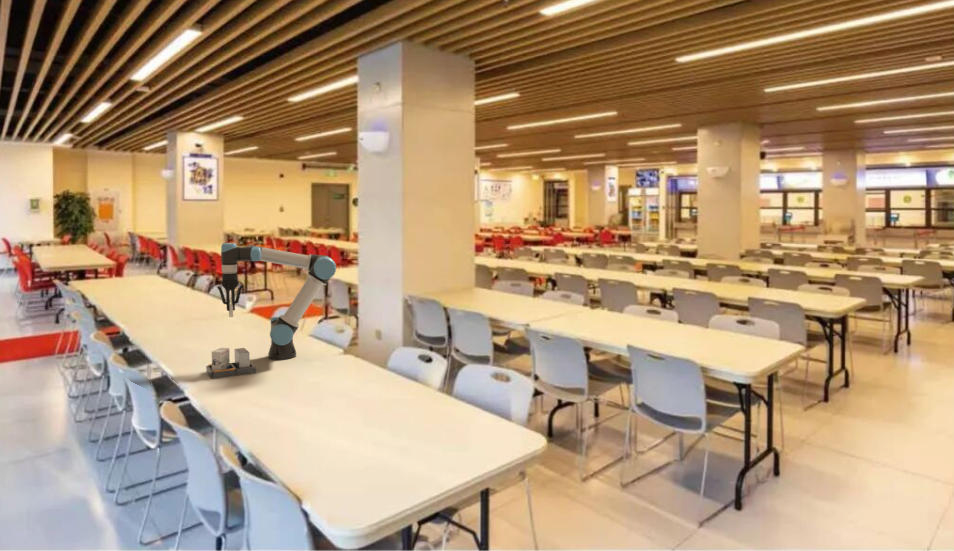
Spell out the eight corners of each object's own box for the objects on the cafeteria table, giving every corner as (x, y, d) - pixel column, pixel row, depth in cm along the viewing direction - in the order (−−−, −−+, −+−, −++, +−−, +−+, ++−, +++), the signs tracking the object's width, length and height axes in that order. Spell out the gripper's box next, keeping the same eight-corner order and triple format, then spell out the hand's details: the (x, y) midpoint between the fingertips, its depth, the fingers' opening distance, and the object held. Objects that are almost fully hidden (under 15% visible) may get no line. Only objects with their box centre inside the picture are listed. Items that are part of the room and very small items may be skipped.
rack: (249, 366, 319) (248, 346, 318) (255, 373, 307) (255, 351, 306) (206, 371, 308) (205, 350, 306) (211, 379, 295) (210, 356, 294)
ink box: (221, 369, 309) (220, 347, 308) (230, 370, 308) (229, 348, 307) (211, 374, 301) (210, 351, 299) (220, 374, 300) (219, 351, 298)
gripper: (241, 271, 322) (242, 314, 324) (215, 272, 315) (216, 316, 317) (244, 272, 316) (245, 316, 318) (217, 273, 308) (219, 319, 311)
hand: (231, 316), depth 318 cm, fingers closed
